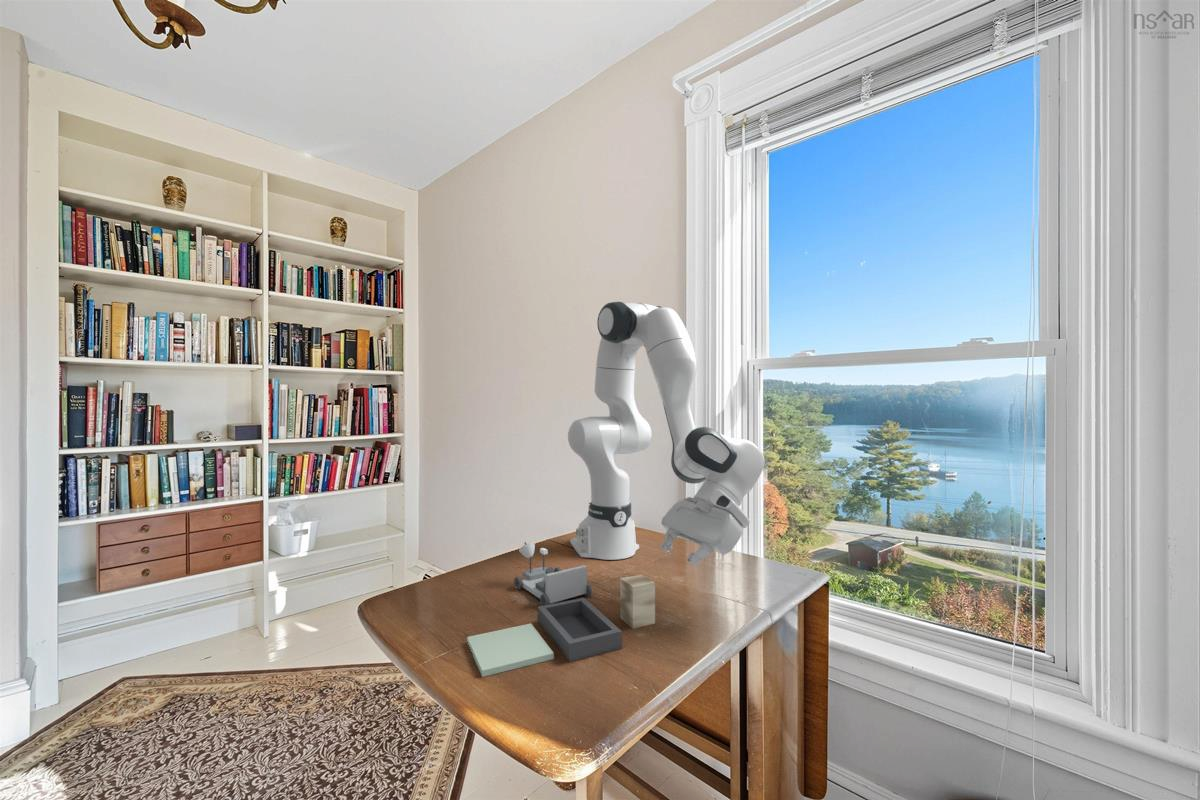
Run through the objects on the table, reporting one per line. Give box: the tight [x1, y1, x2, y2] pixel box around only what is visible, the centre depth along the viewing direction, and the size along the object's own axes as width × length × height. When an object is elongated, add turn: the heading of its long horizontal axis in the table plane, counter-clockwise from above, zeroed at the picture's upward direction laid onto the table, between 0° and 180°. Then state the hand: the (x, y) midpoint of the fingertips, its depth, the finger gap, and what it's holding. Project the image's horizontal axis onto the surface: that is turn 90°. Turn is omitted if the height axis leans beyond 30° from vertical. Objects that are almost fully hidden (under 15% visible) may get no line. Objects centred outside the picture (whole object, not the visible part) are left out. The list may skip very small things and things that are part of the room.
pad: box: [466, 622, 555, 678], centre depth 84 cm, size 12×12×1 cm
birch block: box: [619, 573, 656, 630], centre depth 95 cm, size 5×5×8 cm
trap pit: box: [537, 597, 623, 663], centre depth 90 cm, size 16×10×3 cm, turn 27°
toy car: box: [513, 541, 593, 606], centre depth 111 cm, size 18×10×12 cm
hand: (677, 556), depth 99 cm, fingers open, 8 cm apart
